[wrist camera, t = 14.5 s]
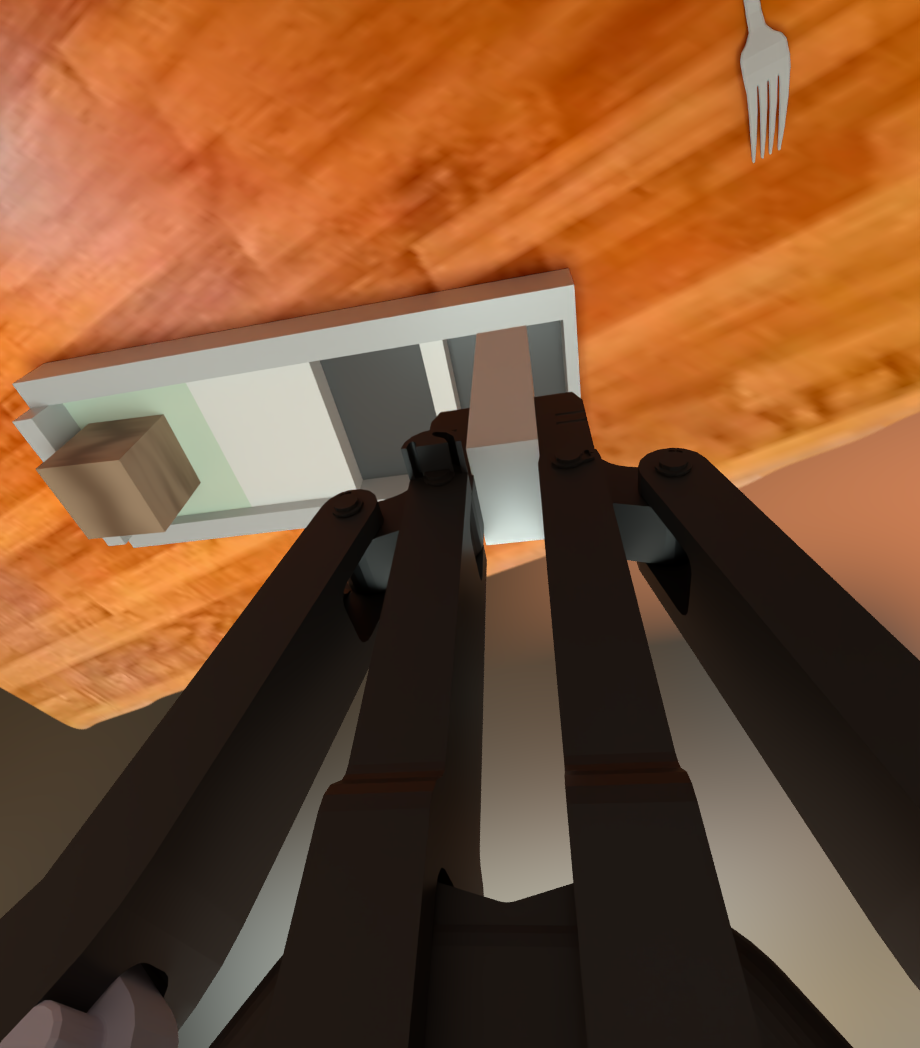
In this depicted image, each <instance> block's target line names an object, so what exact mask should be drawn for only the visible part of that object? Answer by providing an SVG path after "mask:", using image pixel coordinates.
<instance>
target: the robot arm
mask: <svg viewBox="0 0 920 1048" xmlns="http://www.w3.org/2000/svg"><path fill="white" fill-rule="evenodd" d="M401 452H402V456H403V459H404V462H405V466H406V469H407V472H408V476H409V479H410V482H409V487H408V490H407V491H405V492H403V493H401V494H399V495H396V496H394V497H391V498H388V499H385V500H382V501H379V502H378V501H377V498H376V495H375V494H374V493H372V492H371V491H369V490H363V489H355V490H348V491H345V492H341V493H339V494H337V495H335V496H334V497H332V498H330V499H329V500H328V501H327V502H326V503H325V504H324V505H323V506H322V507H321V508H320V509H319V511H318V512H317V513H316V515H315V516H314V517H313V519H312V520H311V521H310V523H309V524H308V525H307V527H306V528H305V529H304V531H303V532H302V533H301V535H300V536H299V537H298V539H297V540H296V541H295V543H294V544H293V545H292V547H291V548H290V549H289V551H288V552H287V553H286V555H285V556H284V557H283V559H282V560H281V561H280V563H279V564H278V565H277V567H276V568H275V569H274V571H273V572H272V573H271V575H270V576H269V577H268V579H267V580H266V582H265V583H264V584H263V586H262V587H261V588H260V590H259V591H258V592H257V594H256V595H255V596H254V598H253V599H252V600H251V602H250V603H249V604H248V606H247V607H246V608H245V610H244V611H243V612H242V614H241V615H240V616H239V618H238V619H237V620H236V622H235V623H234V624H233V626H232V627H231V628H230V630H229V631H228V632H227V634H226V635H225V636H224V638H223V639H222V640H221V642H220V643H219V644H218V646H217V647H216V648H215V650H214V651H213V652H212V654H211V655H210V656H209V658H208V659H207V660H206V662H205V663H204V664H203V666H202V667H201V668H200V670H199V671H198V672H197V674H196V675H195V676H194V678H193V679H192V680H191V682H190V683H189V684H188V686H187V687H186V688H185V690H184V691H183V692H182V694H181V695H180V697H179V698H178V699H177V700H176V702H175V703H174V704H173V706H172V707H171V708H170V710H169V711H168V712H167V714H166V715H165V716H164V718H163V719H162V720H161V722H160V723H159V724H158V726H157V727H156V728H155V730H154V731H153V732H152V734H151V735H150V736H149V738H148V739H147V741H146V742H145V743H144V745H143V746H142V747H141V749H140V750H139V751H138V753H137V754H136V755H135V757H134V758H133V759H132V761H131V762H130V763H129V765H128V766H127V767H126V769H125V770H124V771H123V773H122V774H121V775H120V777H119V778H118V779H117V781H116V782H115V783H114V785H113V786H112V787H111V789H110V790H109V792H108V793H107V794H106V795H105V797H104V798H103V799H102V801H101V802H100V803H99V805H98V806H97V807H96V809H95V810H94V811H93V813H92V814H91V815H90V817H89V818H88V819H87V821H86V822H85V823H84V825H83V826H82V827H81V829H80V830H79V832H78V833H77V834H76V835H75V837H74V838H73V839H72V841H71V842H70V843H69V845H68V846H67V847H66V849H65V850H64V851H63V853H62V854H61V855H60V857H59V858H58V860H57V861H56V862H55V863H54V865H53V866H52V868H51V869H50V870H49V872H48V873H47V874H46V875H45V877H44V878H43V879H42V880H41V881H40V882H39V883H38V884H37V885H36V886H35V887H34V888H33V889H32V890H31V891H30V892H28V893H27V894H26V896H24V897H23V898H22V899H21V900H20V901H19V902H18V903H17V904H16V905H15V906H14V907H13V908H11V909H10V910H9V911H8V912H7V913H6V914H5V915H4V916H3V917H2V918H1V919H0V1048H178V1042H179V1041H178V1030H179V1029H180V1027H181V1026H182V1025H183V1024H184V1022H185V1021H186V1020H187V1018H188V1017H189V1016H190V1014H191V1013H192V1011H193V1010H194V1009H195V1007H196V1006H197V1004H198V1003H199V1001H200V999H201V998H202V996H203V995H204V993H205V992H206V990H207V988H208V987H209V985H210V984H211V982H212V980H213V979H214V977H215V976H216V974H217V973H218V971H219V970H220V968H221V966H222V965H223V963H224V961H225V959H226V957H227V955H228V953H229V951H230V950H231V948H232V946H233V944H234V942H235V940H236V938H237V936H238V935H239V933H240V931H241V929H242V927H243V925H244V923H245V921H246V919H247V917H248V915H249V913H250V911H251V909H252V906H253V905H254V903H255V901H256V899H257V896H258V894H259V892H260V890H261V888H262V886H263V884H264V882H265V880H266V878H267V876H268V874H269V872H270V870H271V868H272V866H273V864H274V862H275V860H276V857H277V855H278V853H279V851H280V849H281V847H282V845H283V843H284V841H285V839H286V837H287V835H288V833H289V831H290V829H291V827H292V825H293V822H294V820H295V818H296V816H297V814H298V812H299V810H300V808H301V806H302V804H303V802H304V800H305V798H306V796H307V794H308V792H309V790H310V788H311V786H312V784H313V781H314V779H315V777H316V775H317V773H318V771H319V769H320V767H321V765H322V763H323V761H324V759H325V757H326V755H327V753H328V751H329V749H330V746H331V744H332V742H333V740H334V738H335V736H336V734H337V732H338V730H339V728H340V726H341V724H342V722H343V720H344V718H345V716H346V714H347V712H348V710H349V708H350V705H351V703H352V701H353V699H354V697H355V695H356V693H357V691H358V689H359V687H360V685H361V683H362V681H363V679H364V677H365V675H366V673H367V670H368V669H369V672H368V676H367V681H366V686H365V690H364V695H363V699H362V704H361V709H360V713H359V718H358V723H357V727H356V732H355V736H354V741H353V746H352V750H351V755H350V759H349V764H348V768H347V771H346V774H345V776H344V777H343V779H342V780H341V781H338V782H336V783H334V784H331V785H330V786H329V788H328V789H327V791H326V792H325V794H324V796H323V799H322V802H321V805H320V807H319V811H318V814H317V818H316V822H315V826H314V830H313V835H312V839H311V843H310V847H309V851H308V855H307V859H306V863H305V868H304V872H303V876H302V880H301V884H300V888H299V892H298V896H297V900H296V905H295V908H294V913H293V917H292V921H291V925H290V929H289V934H288V938H287V941H286V945H285V950H284V954H283V956H282V957H281V958H280V959H279V960H278V961H277V963H276V964H275V965H274V966H273V968H272V969H271V970H270V971H269V973H268V974H267V975H266V976H265V977H264V979H263V980H262V981H261V983H260V984H259V985H258V986H257V988H256V989H255V990H254V991H253V993H252V994H251V995H250V996H249V998H248V999H247V1000H246V1001H245V1003H244V1004H243V1005H242V1006H241V1008H240V1009H239V1010H238V1011H237V1013H236V1014H235V1015H234V1016H233V1018H232V1019H231V1020H230V1021H229V1023H228V1024H227V1025H226V1026H225V1028H224V1029H223V1030H222V1031H221V1033H220V1034H219V1035H218V1036H217V1038H216V1039H215V1040H214V1041H213V1043H212V1044H211V1045H210V1047H209V1048H853V1047H852V1046H851V1045H850V1044H849V1043H848V1041H847V1040H846V1039H845V1038H844V1037H843V1036H842V1035H841V1034H840V1033H839V1032H838V1031H837V1030H836V1028H835V1027H834V1026H833V1025H832V1024H831V1023H830V1022H829V1021H828V1020H827V1019H826V1018H825V1016H823V1014H822V1013H821V1012H820V1011H819V1010H818V1009H817V1008H816V1007H815V1006H814V1005H813V1004H812V1003H811V1001H810V1000H809V999H808V998H807V997H806V996H805V995H804V994H803V993H802V991H801V990H800V989H799V988H798V987H797V986H796V985H795V984H794V983H793V982H792V981H791V980H790V978H788V976H787V975H786V974H785V973H784V972H783V971H782V970H781V969H780V968H779V967H778V966H777V965H776V964H775V963H774V962H773V961H772V960H771V959H770V958H769V957H768V956H767V955H765V954H764V953H763V952H762V951H761V950H760V949H759V948H758V947H756V946H755V945H754V944H753V943H752V942H751V941H749V940H748V939H746V938H745V937H744V936H742V935H741V934H740V933H738V932H737V931H736V930H734V929H733V928H731V926H730V923H729V919H728V915H727V911H726V907H725V904H724V900H723V896H722V892H721V888H720V885H719V881H718V877H717V873H716V870H715V866H714V862H713V858H712V855H711V851H710V848H709V843H708V840H707V836H706V832H705V828H704V824H703V821H702V817H701V813H700V809H699V806H698V802H697V798H696V795H695V792H694V789H693V786H692V783H691V780H690V778H689V776H688V774H687V772H686V771H685V770H684V769H682V768H681V767H680V765H679V763H678V760H677V757H676V753H675V749H674V746H673V741H672V737H671V733H670V730H669V726H668V722H667V718H666V714H665V710H664V706H663V702H662V698H661V694H660V690H659V686H658V682H657V678H656V674H655V670H654V666H653V662H652V658H651V654H650V650H649V646H648V642H647V638H646V634H645V630H644V626H643V622H642V618H641V615H640V611H639V607H638V603H637V599H636V595H635V591H634V587H633V583H632V579H631V575H630V571H629V567H628V563H627V560H631V561H637V564H638V567H639V570H640V572H641V573H642V575H643V576H644V578H645V579H646V581H647V582H648V584H649V585H650V587H651V588H652V590H653V591H654V593H655V595H656V596H657V598H658V599H659V601H660V602H661V604H662V605H663V607H664V608H665V610H666V611H667V613H668V614H669V616H670V617H671V619H672V620H673V622H674V623H675V625H676V626H677V628H678V629H679V631H680V633H681V634H682V636H683V637H684V639H685V640H686V642H687V643H688V645H689V646H690V648H691V649H692V651H693V652H694V654H695V655H696V657H697V659H698V660H699V662H700V663H701V665H702V666H703V668H704V669H705V671H706V672H707V674H708V675H709V677H710V678H711V680H712V681H713V683H714V684H715V686H716V687H717V689H718V691H719V692H720V694H721V695H722V697H723V698H724V700H725V701H726V703H727V704H728V706H729V707H730V709H731V710H732V712H733V713H734V715H735V716H736V718H737V720H738V721H739V723H740V724H741V726H742V727H743V728H744V730H745V732H746V733H747V735H748V736H749V738H750V739H751V741H752V742H753V744H754V745H755V747H756V748H757V750H758V751H759V753H760V755H761V756H762V758H763V759H764V761H765V762H766V764H767V765H768V767H769V768H770V770H771V771H772V773H773V774H774V776H775V777H776V779H777V780H778V782H779V783H780V785H781V787H782V788H783V790H784V791H785V792H786V794H787V796H788V797H789V799H790V800H791V802H792V803H793V805H794V806H795V808H796V809H797V811H798V812H799V814H800V815H801V817H802V818H803V820H804V822H805V823H806V825H807V826H808V828H809V829H810V830H811V832H812V834H813V835H814V837H815V838H816V840H817V841H818V843H819V844H820V846H821V847H822V849H823V851H824V852H825V854H826V855H827V857H828V858H829V859H830V861H831V863H832V864H833V866H834V867H835V869H836V870H837V872H838V873H839V875H840V876H841V878H842V880H843V881H844V882H845V884H846V886H847V887H848V889H849V890H850V892H851V893H852V895H853V896H854V898H855V899H856V901H857V902H858V904H859V905H860V907H861V908H862V910H863V911H864V913H865V914H866V916H867V918H868V919H869V921H870V922H871V924H872V925H873V927H874V928H875V930H876V931H877V933H878V934H879V936H880V937H881V938H882V940H883V941H884V943H885V944H886V945H887V947H888V948H889V950H890V951H891V952H892V954H893V955H894V957H895V958H896V959H897V961H898V962H899V964H900V965H901V966H902V968H903V969H904V971H905V972H906V973H907V975H908V976H909V978H910V979H911V980H912V982H913V983H914V984H915V985H916V986H917V987H918V989H919V990H920V661H919V660H918V659H917V658H916V657H915V656H914V655H913V654H912V653H911V652H910V651H909V650H908V649H907V648H905V647H904V645H903V644H901V643H900V642H899V641H898V640H897V639H896V638H895V637H894V636H893V635H892V634H891V633H890V632H889V631H888V630H886V628H885V627H883V626H882V625H881V624H880V623H879V622H878V621H877V620H876V619H875V618H874V617H873V616H872V615H871V614H870V613H869V612H868V611H866V609H864V608H863V607H862V606H861V605H860V604H859V603H858V602H857V601H856V600H855V599H854V598H853V597H852V596H851V595H850V594H848V592H847V591H845V590H844V589H843V588H842V587H841V586H840V585H839V584H838V583H837V582H836V581H835V580H834V579H833V578H832V577H831V576H830V575H829V574H827V573H826V572H825V571H824V570H823V569H822V568H821V567H820V566H819V565H818V564H817V563H816V562H815V561H814V560H813V559H812V558H811V557H810V556H809V555H807V554H806V553H805V552H804V551H803V550H802V549H801V548H800V547H799V546H798V545H797V544H796V543H795V542H794V541H793V540H792V539H791V538H789V537H788V536H787V535H786V534H785V533H784V532H783V531H782V530H781V529H780V528H779V527H778V526H777V525H776V524H775V523H774V522H773V521H771V520H770V519H769V518H768V517H767V516H766V515H765V514H764V513H763V512H762V511H761V510H760V509H759V508H758V507H757V506H756V505H755V504H754V503H753V502H751V501H750V500H749V499H748V498H747V497H746V496H745V495H744V494H743V493H742V492H741V491H740V490H739V489H738V488H737V487H736V486H735V485H734V484H732V483H731V482H730V481H729V480H728V479H727V478H726V477H725V476H724V475H723V474H722V473H721V472H720V471H719V470H718V469H717V468H716V467H715V466H713V465H712V464H711V463H710V462H709V461H708V460H707V459H706V458H705V457H703V456H702V455H700V454H699V453H697V452H694V451H691V450H687V449H682V448H667V449H660V450H656V451H654V452H651V453H649V454H647V455H646V456H645V457H643V458H642V459H641V460H640V463H639V466H638V467H626V466H618V465H614V464H611V463H608V462H606V461H604V460H602V459H601V456H600V454H599V453H598V451H597V450H596V449H594V445H593V441H592V437H591V433H590V429H589V425H588V421H587V417H586V413H585V409H584V404H583V400H582V399H581V398H580V397H578V396H577V395H576V394H574V393H573V392H565V393H558V394H552V395H545V396H538V397H534V389H533V380H532V371H531V362H530V354H529V345H528V336H527V328H526V325H525V326H519V327H513V328H507V329H501V330H495V331H489V332H483V333H477V334H476V345H475V356H474V367H473V378H472V389H471V399H470V408H465V409H459V410H452V411H445V412H440V413H439V414H438V415H437V417H436V418H435V419H434V420H433V421H432V422H431V426H430V430H428V431H424V432H421V433H419V434H417V435H414V436H412V437H411V438H410V439H408V440H407V441H406V442H404V444H403V446H402V447H401ZM484 536H485V541H486V545H493V544H503V543H513V542H522V541H532V540H541V539H545V550H546V561H547V572H548V582H549V583H548V584H549V595H550V606H551V617H552V628H553V640H554V651H555V661H556V674H557V685H558V696H559V708H560V718H561V730H562V742H563V753H564V765H565V789H566V802H567V813H568V823H569V824H568V825H569V836H570V848H571V860H572V871H573V883H572V884H569V885H566V886H563V887H560V888H556V889H554V890H550V891H547V892H544V893H540V894H537V895H534V896H531V897H528V898H525V899H521V900H518V901H514V902H507V903H506V902H500V901H496V900H493V899H490V898H487V897H484V895H483V894H484V893H483V882H482V874H481V867H480V812H481V769H482V731H483V730H482V729H483V689H484V650H485V648H484V647H485V608H486V568H487V559H486V554H485V550H484V545H483V538H484Z"/></svg>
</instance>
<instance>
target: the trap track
mask: <svg viewBox="0 0 920 1048" xmlns="http://www.w3.org/2000/svg"><path fill="white" fill-rule="evenodd" d="M525 325H526V328H527V336H528V345H529V354H530V362H531V371H532V380H533V389H534V397H538V396H545V395H552V394H558V393H565V392H573V393H574V394H576V395H577V396H578V397H580V398H581V394H580V376H579V359H578V342H577V325H576V307H575V290H574V283H573V280H572V277H571V274H570V271H569V268H566V269H561V270H555V271H550V272H544V273H539V274H533V275H528V276H522V277H517V278H511V279H506V280H500V281H495V282H489V283H484V284H478V285H473V286H467V287H462V288H456V289H451V290H445V291H440V292H434V293H429V294H423V295H418V296H412V297H407V298H401V299H396V300H390V301H385V302H379V303H374V304H368V305H363V306H357V307H352V308H346V309H341V310H335V311H330V312H324V313H319V314H313V315H308V316H302V317H297V318H291V319H286V320H280V321H275V322H269V323H264V324H258V325H253V326H247V327H242V328H236V329H231V330H225V331H220V332H214V333H209V334H203V335H198V336H192V337H187V338H181V339H176V340H170V341H164V342H159V343H153V344H148V345H142V346H137V347H131V348H126V349H120V350H115V351H109V352H104V353H98V354H93V355H87V356H82V357H76V358H71V359H65V360H60V361H54V362H49V363H44V364H42V365H41V366H39V367H37V368H36V369H34V370H33V371H31V372H30V373H28V374H27V375H25V376H24V377H22V378H20V379H19V380H17V381H16V382H14V383H13V386H14V387H15V388H16V390H17V391H18V393H19V394H20V395H21V397H22V398H23V399H24V401H25V402H26V403H27V405H28V406H29V407H30V409H29V410H28V411H27V412H25V413H24V414H22V415H21V416H20V417H18V418H17V419H15V420H14V421H13V424H14V425H15V426H16V427H17V429H18V430H19V431H20V433H21V434H22V435H23V436H24V438H25V439H26V440H27V442H28V443H29V444H30V445H31V447H32V448H33V449H34V451H35V452H36V453H37V454H38V456H39V457H40V458H41V460H42V461H43V462H45V461H46V460H47V459H48V458H49V457H50V456H52V455H53V454H54V453H55V452H56V451H57V450H59V449H60V448H61V447H62V446H63V445H64V444H66V443H67V442H68V441H69V440H70V439H71V438H72V437H74V436H75V435H76V434H77V433H78V432H79V431H81V430H82V429H83V428H84V427H85V426H86V425H88V424H89V423H96V422H105V421H113V420H121V419H129V418H137V417H145V416H154V415H162V414H164V416H165V418H166V419H167V421H168V423H169V425H170V427H171V429H172V430H173V432H174V434H175V436H176V438H177V440H178V441H179V443H180V445H181V447H182V449H183V451H184V453H185V454H186V456H187V458H188V460H189V462H190V464H191V465H192V467H193V469H194V471H195V473H196V475H197V476H198V478H199V480H200V482H201V483H200V485H199V486H198V487H197V489H196V490H195V492H194V493H193V494H192V496H191V497H190V498H189V500H188V501H187V503H186V504H185V505H184V507H183V508H182V509H181V511H180V512H179V514H178V515H177V516H176V518H175V519H174V521H173V522H172V523H171V525H170V526H169V527H168V529H167V530H166V532H161V533H150V534H139V535H128V536H117V537H105V538H103V539H104V540H105V542H106V543H107V544H108V546H114V545H122V544H126V543H127V542H128V541H129V542H130V543H131V545H132V546H133V547H134V548H136V547H145V546H154V545H162V544H171V543H180V542H188V541H197V540H206V539H214V538H223V537H232V536H240V535H249V534H258V533H266V532H275V531H284V530H292V529H301V528H306V527H307V525H308V524H309V523H310V521H311V520H312V519H313V517H314V516H315V515H316V513H317V512H318V511H319V509H320V508H321V507H322V506H323V505H324V504H325V503H326V502H327V501H328V500H329V499H330V498H332V497H334V496H335V495H337V494H339V493H341V492H345V491H348V490H355V489H363V490H369V491H371V492H372V493H374V494H375V495H376V498H377V501H378V502H379V501H382V500H385V499H388V498H391V497H394V496H396V495H399V494H401V493H403V492H405V491H407V490H408V487H409V482H410V479H409V476H408V472H407V469H406V466H405V462H404V459H403V456H402V452H401V447H402V446H403V444H404V442H406V441H407V440H408V439H410V438H411V437H412V436H414V435H417V434H419V433H421V432H424V431H428V430H430V426H431V422H432V421H433V420H434V419H435V418H436V417H437V415H438V414H439V413H440V412H445V411H452V410H459V409H465V408H470V399H471V389H472V378H473V367H474V356H475V345H476V334H477V333H483V332H489V331H495V330H501V329H507V328H513V327H519V326H525Z"/></svg>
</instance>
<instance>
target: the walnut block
mask: <svg viewBox="0 0 920 1048" xmlns="http://www.w3.org/2000/svg"><path fill="white" fill-rule="evenodd" d="M36 470H37V472H38V473H39V474H40V476H41V477H42V478H43V480H44V481H45V482H46V484H47V485H48V486H49V488H50V489H51V490H52V492H53V493H54V494H55V495H56V497H57V498H58V499H59V501H60V502H61V503H62V505H63V506H64V507H65V509H66V510H67V511H68V513H69V514H70V515H71V517H72V518H73V519H74V521H75V522H76V523H77V524H78V526H79V527H80V528H81V530H82V531H83V532H84V534H85V535H86V536H87V538H88V539H94V538H105V537H117V536H128V535H139V534H150V533H161V532H166V530H167V529H168V527H169V526H170V525H171V523H172V522H173V521H174V519H175V518H176V516H177V515H178V514H179V512H180V511H181V509H182V508H183V507H184V505H185V504H186V503H187V501H188V500H189V498H190V497H191V496H192V494H193V493H194V492H195V490H196V489H197V487H198V486H199V485H200V483H201V482H200V480H199V478H198V476H197V475H196V473H195V471H194V469H193V467H192V465H191V464H190V462H189V460H188V458H187V456H186V454H185V453H184V451H183V449H182V447H181V445H180V443H179V441H178V440H177V438H176V436H175V434H174V432H173V430H172V429H171V427H170V425H169V423H168V421H167V419H166V418H165V416H164V414H162V415H154V416H145V417H137V418H129V419H121V420H113V421H105V422H96V423H89V424H88V425H86V426H85V427H84V428H83V429H82V430H81V431H79V432H78V433H77V434H76V435H75V436H74V437H72V438H71V439H70V440H69V441H68V442H67V443H66V444H64V445H63V446H62V447H61V448H60V449H59V450H57V451H56V452H55V453H54V454H53V455H52V456H50V457H49V458H48V459H47V460H46V461H45V462H43V463H42V464H41V465H40V466H39V467H38V468H36Z"/></svg>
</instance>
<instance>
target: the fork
mask: <svg viewBox="0 0 920 1048" xmlns="http://www.w3.org/2000/svg"><path fill="white" fill-rule="evenodd" d="M744 6H745V12H746V18H747V24H748V30H749V34H748V38H747V42H746V45H745V47H744V49H743V51H742V53H741V60H740V64H741V70H742V75H743V81H744V85H745V90H746V93H747V102H748V112H749V124H750V138H751V152H752V162H753V163H755V156H756V141H757V115H758V106H757V86H758V88H759V102H760V136H761V158H764V150H765V140H766V123H767V82H768V81H769V99H770V115H769V154H772V147H773V139H774V132H775V120H776V108H777V88H778V75H779V99H780V100H779V131H778V150H780V149H781V144H782V138H783V133H784V127H785V120H786V112H787V104H788V96H789V80H790V68H791V64H790V52H789V48H788V43H787V38H786V37H785V36H784V34H783V33H782V32H779V31H776V30H773V29H772V28H770V27H769V26H768V25H766V24H765V20H764V17H763V13H762V10H761V4H760V0H744Z"/></svg>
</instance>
